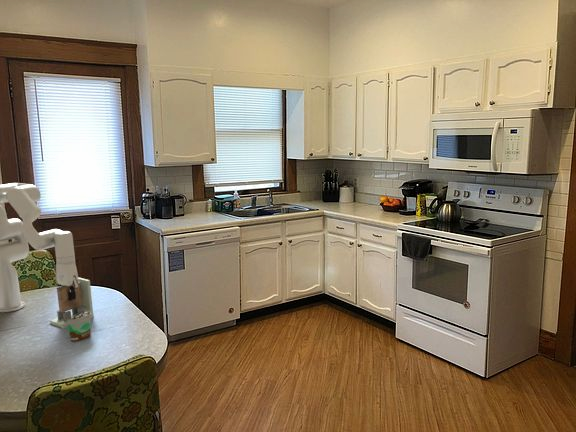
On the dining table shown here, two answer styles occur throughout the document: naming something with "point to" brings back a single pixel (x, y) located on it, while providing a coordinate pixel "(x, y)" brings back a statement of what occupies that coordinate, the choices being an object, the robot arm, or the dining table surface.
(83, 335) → the food container
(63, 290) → the wooden block
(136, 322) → the dining table surface
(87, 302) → the hinge base
